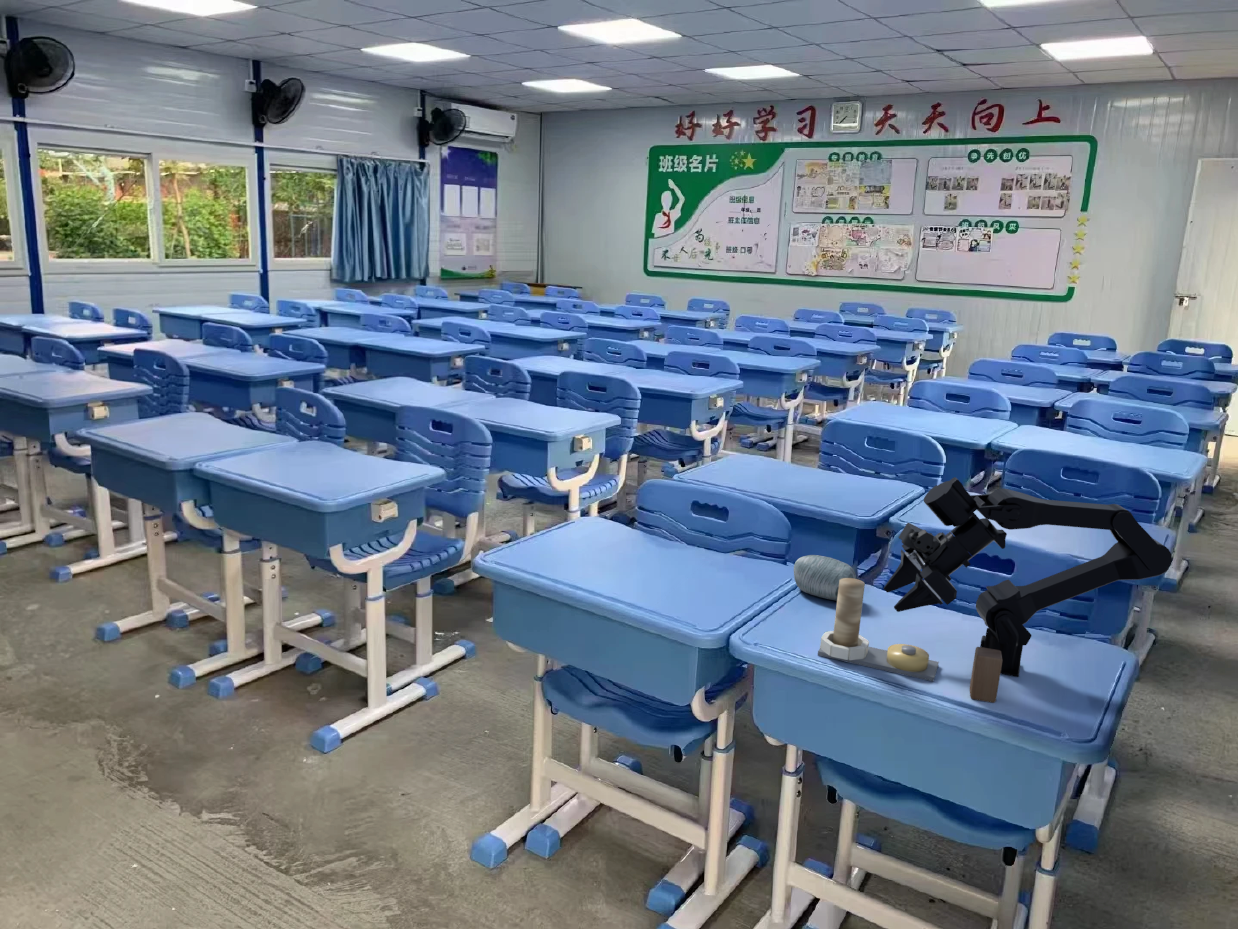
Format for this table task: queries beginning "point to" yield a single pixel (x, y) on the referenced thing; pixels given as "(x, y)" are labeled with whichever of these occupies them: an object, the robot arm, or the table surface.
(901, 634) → the table surface
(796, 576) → the grey streaked oval stone
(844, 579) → the peg
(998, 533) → the robot arm
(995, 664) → the wooden block
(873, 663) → the board
